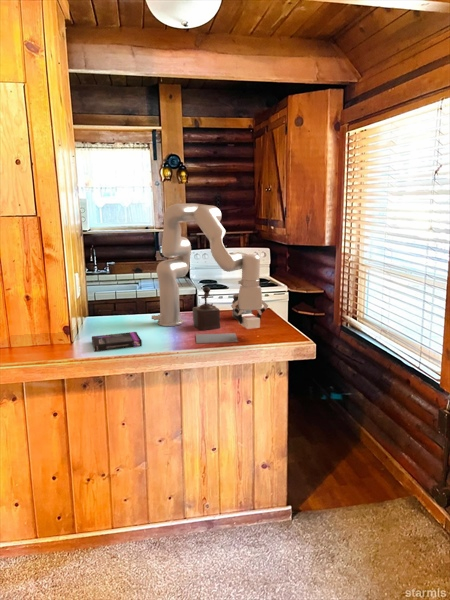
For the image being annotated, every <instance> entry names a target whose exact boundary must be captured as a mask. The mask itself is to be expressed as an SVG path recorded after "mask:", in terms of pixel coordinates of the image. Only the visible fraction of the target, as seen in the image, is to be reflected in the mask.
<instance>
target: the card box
mask: <svg viewBox="0 0 450 600" xmlns="http://www.w3.org/2000/svg"><path fill="white" fill-rule="evenodd" d="M241 315H242V324H240V323H239V322H238V324H239V325H241V326H242V327H243V328H245V329H247V330H250V329H252V330H253V329H258V328H261V321H260V318H258V317H257V315H254V314H253V313H252V314H241Z"/></svg>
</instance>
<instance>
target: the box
mask: <svg viewBox="0 0 450 600" xmlns="http://www.w3.org/2000/svg"><path fill="white" fill-rule="evenodd" d="M142 342H143V341H142V339H141V337H140V336H139V334H138V332H137V331H132V332H131V331H130V332H129V331H128V332H121V333H113V334H112V333H110V334H103V335H92V336H91V343H92V346H93V350H94V353H96V352H103V351H112V350H120V349H128V348H137V347H142V346H143V343H142Z"/></svg>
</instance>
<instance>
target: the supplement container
mask: <svg viewBox="0 0 450 600" xmlns="http://www.w3.org/2000/svg"><path fill="white" fill-rule="evenodd" d="M238 296H239V293H236V294H233V297H232V298H233V300H232V303H231V305H232V304H233V303H235V302H236V301H237V300H238ZM235 307H236V308H237V309H238V310H239V307H238V305H236V306H235ZM241 314H253V310H243V311H242V313H241ZM231 316H232V318H233V319H234V320H237V321H238V314H237V313H236V312H235V311H234V309H233V308H232V315H231Z"/></svg>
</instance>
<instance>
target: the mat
mask: <svg viewBox="0 0 450 600" xmlns="http://www.w3.org/2000/svg"><path fill="white" fill-rule="evenodd" d="M195 340H196V341H195V342H196V344H197V345H198V344H201V345H202V344H224V343H225V344H227V343H228V344H230V343H239V340H238V337H237V334H236V332H233V333H231V332H229V333H228V332H227V333H206V334H205V333H204V334H203V333H202V334H199V333H198V334H195Z"/></svg>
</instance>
